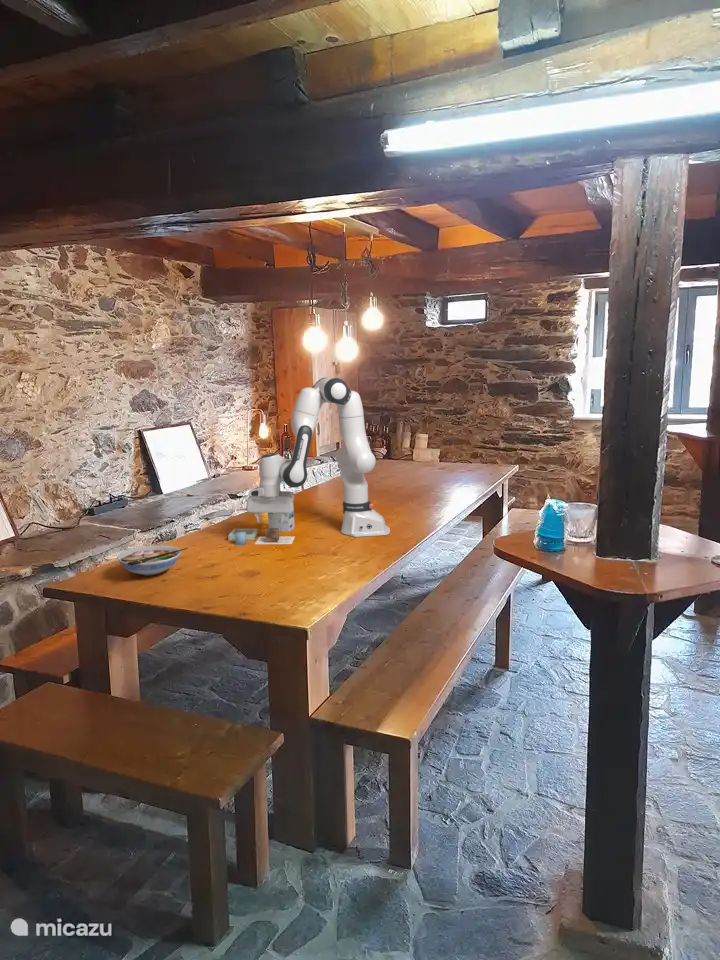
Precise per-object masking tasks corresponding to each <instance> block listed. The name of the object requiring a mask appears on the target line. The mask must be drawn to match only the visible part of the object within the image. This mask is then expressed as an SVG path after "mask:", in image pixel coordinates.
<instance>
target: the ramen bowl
mask: <svg viewBox="0 0 720 960" xmlns="http://www.w3.org/2000/svg"><path fill="white" fill-rule="evenodd" d="M188 549H189V548H188V547H185V548H182V549H180V548H179V547H177V546H171V545H159V544H158V545H156V544H155V545H146V546H145V545H144V546H141V547H136V548H135V547H134V548H131V549H128V550H125V551H122V552H121V553H119V554H118V555H117V560H118V562H119V563H120V565H122V567H123V568H125V570H127V571H129V572H131V573H132V574H138V575H142V576H146V577H147V576H148V577H149V576H156V575H159V574H161V573H162V572H165V571H167V570H169V569H170V568H172V567H173V566H174V565H175V564H176V563H177V561H178V560H179V558H180V556H181V554H182V551H185V550H188Z"/></svg>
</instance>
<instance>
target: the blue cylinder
mask: <svg viewBox="0 0 720 960" xmlns="http://www.w3.org/2000/svg"><path fill="white" fill-rule="evenodd" d="M235 539H236V541H235V545H236V546H244V545H246V544H247V540H246V532H242V531H241V532H236V533H235Z"/></svg>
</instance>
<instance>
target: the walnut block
mask: <svg viewBox="0 0 720 960" xmlns="http://www.w3.org/2000/svg"><path fill="white" fill-rule="evenodd" d="M264 535H265V537H266V542H278V540H279V537H280V531H279V528H269V527H267V528H266V530H265V533H264Z"/></svg>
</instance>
